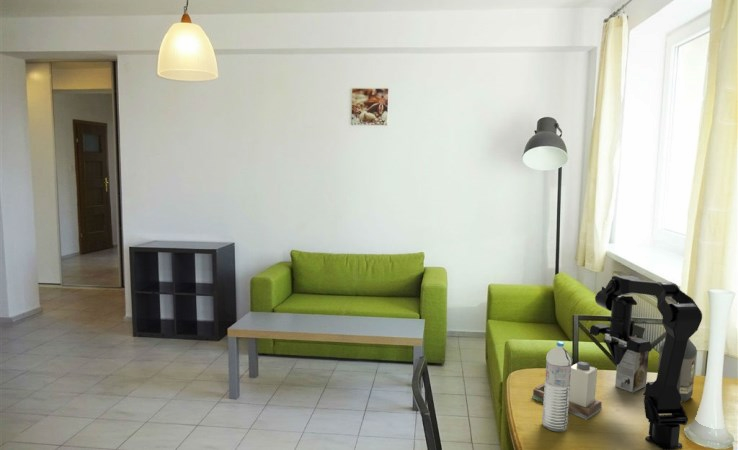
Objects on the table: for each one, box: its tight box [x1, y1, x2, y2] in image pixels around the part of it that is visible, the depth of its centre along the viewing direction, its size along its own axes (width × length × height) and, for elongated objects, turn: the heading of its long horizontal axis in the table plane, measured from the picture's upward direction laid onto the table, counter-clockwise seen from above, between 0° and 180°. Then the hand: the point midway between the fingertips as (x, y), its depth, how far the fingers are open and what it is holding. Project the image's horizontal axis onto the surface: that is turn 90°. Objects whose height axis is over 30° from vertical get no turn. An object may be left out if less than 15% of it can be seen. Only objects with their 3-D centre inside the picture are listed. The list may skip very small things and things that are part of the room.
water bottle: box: [541, 340, 573, 433], centre depth 145 cm, size 7×7×25 cm
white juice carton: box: [569, 361, 598, 408], centre depth 157 cm, size 6×6×13 cm
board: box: [531, 382, 603, 420], centre depth 161 cm, size 18×10×3 cm, turn 42°
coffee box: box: [614, 336, 650, 393], centre depth 174 cm, size 9×6×16 cm
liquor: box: [657, 338, 698, 403], centre depth 167 cm, size 9×9×30 cm
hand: (617, 363), depth 160 cm, fingers closed
